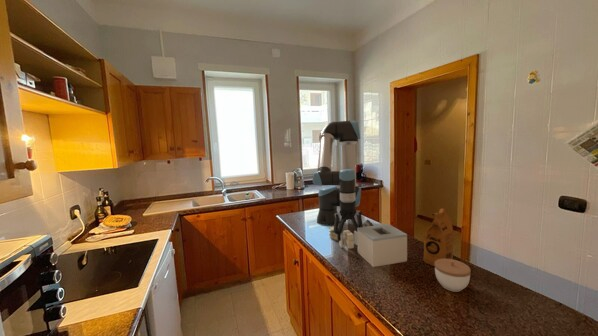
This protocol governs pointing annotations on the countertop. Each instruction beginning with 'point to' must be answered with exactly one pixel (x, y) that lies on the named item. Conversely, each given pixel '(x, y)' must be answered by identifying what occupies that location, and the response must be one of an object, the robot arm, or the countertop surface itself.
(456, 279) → the lidded jar
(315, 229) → the countertop surface
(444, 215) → the coffee package
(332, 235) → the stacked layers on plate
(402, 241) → the slot box
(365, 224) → the fossil
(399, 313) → the countertop surface
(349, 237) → the tan rectangular block
